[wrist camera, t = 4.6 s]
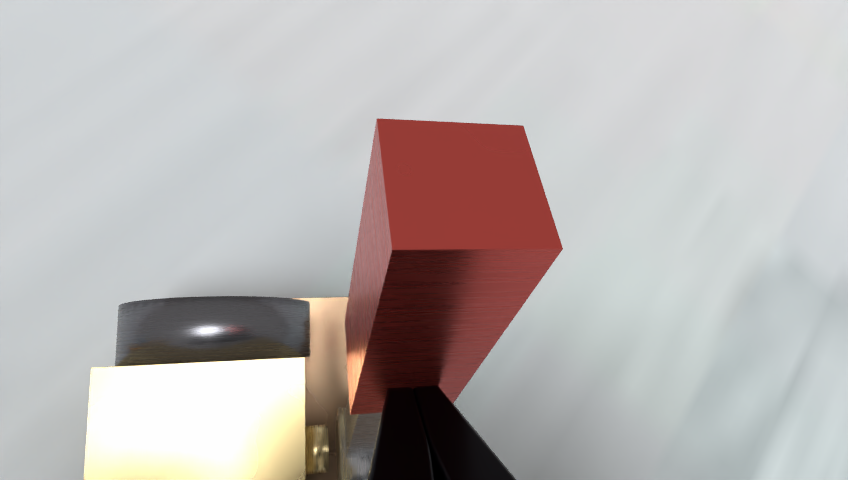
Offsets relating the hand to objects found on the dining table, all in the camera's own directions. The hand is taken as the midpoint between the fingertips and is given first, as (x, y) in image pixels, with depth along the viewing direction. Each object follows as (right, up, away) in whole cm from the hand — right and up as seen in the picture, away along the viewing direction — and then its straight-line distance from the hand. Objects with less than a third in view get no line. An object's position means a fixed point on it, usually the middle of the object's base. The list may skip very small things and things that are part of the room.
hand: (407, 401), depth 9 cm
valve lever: (-2, -3, +6) cm, 7 cm away
